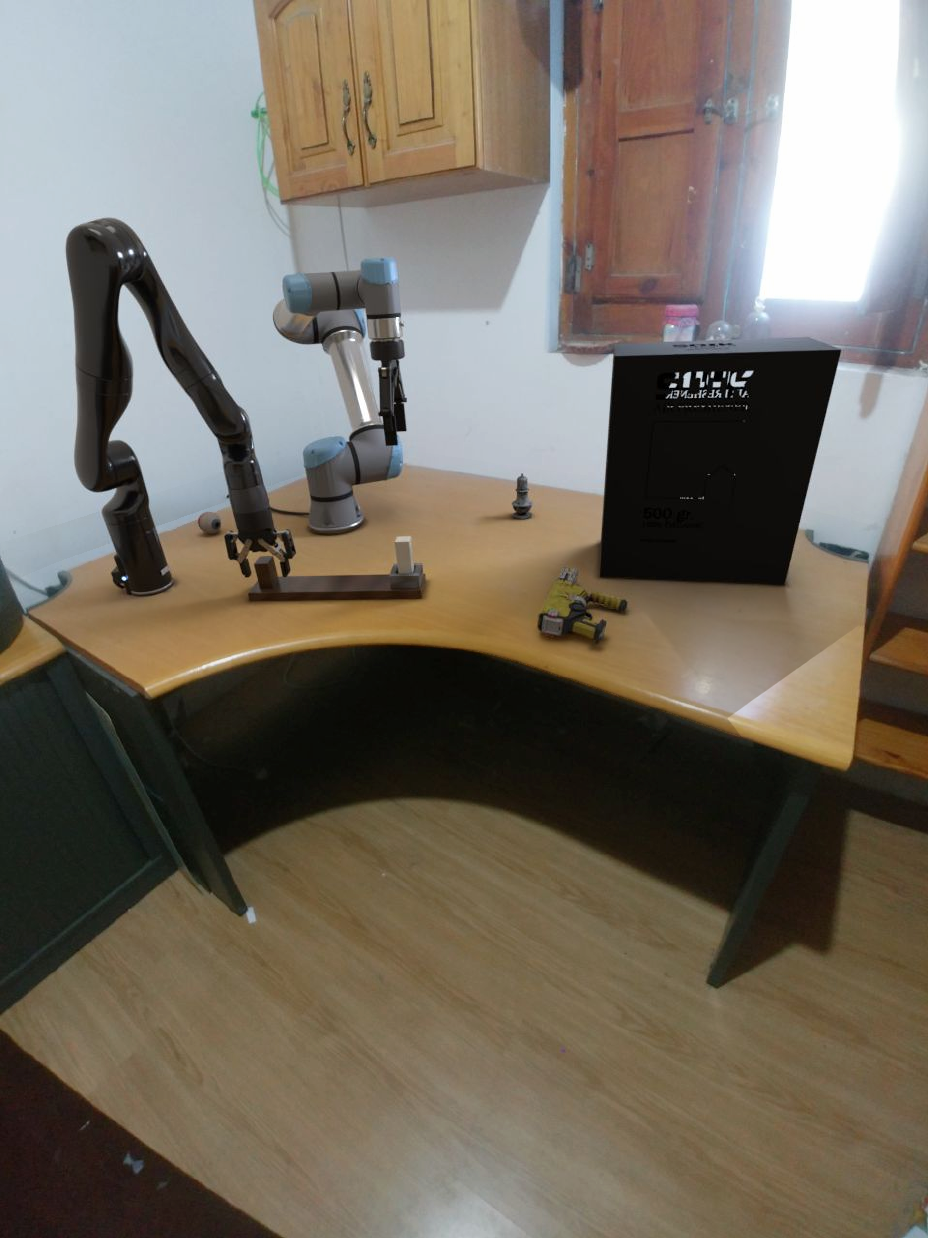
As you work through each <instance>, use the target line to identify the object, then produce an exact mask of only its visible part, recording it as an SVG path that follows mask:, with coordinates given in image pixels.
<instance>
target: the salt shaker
mask: <svg viewBox="0 0 928 1238" xmlns="http://www.w3.org/2000/svg"><path fill="white" fill-rule="evenodd" d="M529 490H530V489H529V488H528V477H527V476H525V475H524V472H521V474H520V476H518V477H517V478H516V488H515V492H516V498H515V500H514V501H511V505H512V509H513V510H514V513H512V517H513V518H515V519H518V520H519V519H521V520H523V519H529V518H532V516H533V514H532V513H531V512H530V511H531V509H532V506H533V504H534V502H533V501H532V500H530V499H529Z"/></svg>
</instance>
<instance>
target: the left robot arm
mask: <svg viewBox="0 0 928 1238" xmlns="http://www.w3.org/2000/svg"><path fill="white" fill-rule="evenodd" d="M65 259H66V267H67V274H68V275H67V276H68V280H69V287H70V293H71V300H72V301H71V302H72V309H73V310H72V311H73V327H74V328H73V330H74V331H73V332H74V346H75V348H74V349H75V350H74V351H75V352H74V355H75V356H74V362H75V363H74V368H75V384H76V429H75V430H76V431H75V438H74V449H73V462H74V464H73V465H74V469H75V473H76V476H77V478H78V480H79V482H80V483H81V485H82V486H83V487H84V489H86V490H88V491H90V492H92V493H99V494H100V493H104V492H109V491H112V490H115V492H114V493H113V496H112V497H111V498H110V500H109V501H108V502H107V503H106V504H104V505H103V507H102V508H101V515H102V518H103V521H104V523H105V524H104V525H105V526H106V528H107V532H108V535H109V537H110V540H111V542H112V545H113V548H114V550H115V554H114V555H113V559H114V562H115V565H116V566H115V567H114V568H113V569H112V570H111V572H110V575H111V577H112V582H113V584H114V585H115V586H116V587H117V588H119V589H121V590H124V589H125V591H126V594H127V595H132V596H136V597H145V596H152V595H157V594H159V593H163V592H165V591H167V590H168V589H170V588H171V587H172V586H173V585H174V583H175V581H174V578H173V576H172V573H171V566H170V564H169V563H168V561H167V558H166V554H165V552H164V549H163V546H162V542H161V539H160V536H159V533H158V530H157V526H156V524H155V522H154V518H153V515H152V512H151V509H150V497H149V492H148V489H147V486H146V483H145V478H144V475H143V470H142V468H141V464H140V461H139V458H138V456H137V455H136V452H135V450H134V449H133V448H132V447H131V446H130V444H129V443H127V442H126V441H124V440H122V439H112V440H110V439H111V434H112V433H113V431H114V429H115V427H116V426H117V424H118V422H119V421H120V420H121V418H122V416H123V415H124V413H125V411H126V410H127V408H128V406H129V404H130V402H131V399H132V397H133V392H134V391H133V390H134V361H133V356H132V353H131V351H130V348H129V346H128V344H127V342H126V340H125V337H124V336H123V333H122V331H121V327H120V323H119V312H120V311H119V309H120V295H121V290H122V287H123V286H124V287H125V288H126V290H128V292H129V293H130V294H131V295H132V296H133V297H134V299H135V300H136V303H137V304H138V306H139V307H140V309H141V310H142V312H143V314H144V316H145V318H146V321H147V322H148V325H149V328H150V331H151V333H152V337H153V340H154V342H155V343H154V344H155V345H156V349H157V351H158V354H159V355H160V358H161V360H162V362H163V364H164V365H165V367H166V368H167V370H168V371H169V373H170V374H171V376H172V377H173V378H174V379H175V381H176V382H177V384H178V385H179V386H180V388H181V389H182V390H183V391H184V393H185V394H186V395H187V397H188V398H189V399H190V401H191V402H192V403H193V404H194V406H195V409H197V411H198V413H199V415H200V416H201V418H202V419H203V421H204V423H205V424H206V425H207V428H208V429H209V430H210V432H211V433H212V434H213V436H214V437H215V438H216V441H217V443H218V448H219V451H220V454H221V458H222V459H221V460H222V469H223V474H224V478H225V482H226V486H227V492H228V494H229V498H228V499H229V504H230V506H231V512H232V515H233V519H234V523H235V527H236V530H237V532H234V531H233V530H232V529H231V530H228V531H227V532H226V533H225V534H224V535H223V538H224V543H225V547H226V553H227V558H228V560H230V561H235V562H238V565H239V569H240V572H241V574H242V576H244V578H245V579H246V578H247V579H248V578H250V577H251V576H252V569H251V565H250V560H249V558H248V556H249V553H250V552H252V553H259V552H260V553H267V552H269V553H270V554H271V556H273V557H276V558H277V559H278V560H279V567H280V572H281V575H282V576H283V577H287V576H289V574H290V573H291V570H292V569H291V565H290V560H292V559H293V558H294V557H295V555H297V550H296V546H295V542H294V539H293V535H292V532H291V530H290V529H288V528H286V529H284V530H280V531H277V530H276V528H275V523H274V518H273V513H272V510H271V509H270V507H271V505H270V498H269V495H268V492H267V489H266V486H265V484H264V478H263V475H262V474H263V473H262V470H261V466H260V463H259V460H258V457H257V453H256V449H255V444H254V443H255V442H254V437H253V431H252V427H251V425H252V424H251V420H250V417H249V414H248V413H247V411H246V409H244V408H243V407H242V406H241V405H239V404H238V403H237V402H236V401H235V399H234V398H233V396H232V395H231V393H229V391H228V390H227V388H226V387H225V385H224V382H223V379H222V377H221V376H220V374H219V372H218V371H217V370H216V368H215V367H214V365H213V364H212V362H211V361H210V359H209V358H208V356H207V355H206V353H205V351H203V349H202V348H201V346H200V345H199V343H198V342H197V340H196V339H195V337H194V335H193V334H192V332H191V331H190V330H189V328H188V326H187V324H186V323H185V321H184V319H183V318H182V317H183V316H181V314H180V312H179V310H178V308H177V307H176V305H175V303H174V301H173V299H172V297H171V295H170V293H169V291H168V289H167V287H166V285H165V284H164V281H163V280H162V278H161V276H160V274H159V271H158V270H157V268H156V266H155V264H154V262H153V260H152V257H151V256H150V254H149V252H148V249H146V247H145V245H144V243H143V242H142V240H141V238H140V237H139V235H138V234H137V233H136V231H134V229H133V228H132V227H131V226H130V225H129V224H128V223H126V222H124V221H123V220H121V219H119V218H116V217H108V216H107V217H106V216H105V217H101V218H97V219H94V220H90V221H86V222H83V223H80V224H78V225H75V226H74V227H73V228H72V229H71V230H70V231H69V232H68V234H67V236H66V240H65ZM277 539H279V540H280V542H282V543H283V546H282V544H280V543H279V542H278V540H277ZM237 541H240V542H241V544H242V545H243V547H242V548H241V551H240V552H239V550H238V545H237ZM283 547H284V548H283Z"/></svg>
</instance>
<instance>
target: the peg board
mask: <svg viewBox="0 0 928 1238" xmlns="http://www.w3.org/2000/svg"><path fill="white" fill-rule="evenodd" d="M253 566H254V570H255V575H256V578H257V581H256V582H254V585H253V586H252V587H251V588H250V590H249V591H248V592H247V595H248V599H249V602H274V601H275V602H276V601H279V602H280V601H328V600H329V601H331V600H333V601H334V600H336V601H337V600H381V599H382V600H386V599H388V600H391V599H393V600H394V599H397V600H399V599H422V598H423V594H424V591H425V587H426V582H427V576H426V573H424V566H423V562H414V573H407V574H398V565H397V562H396V563H393V564H392V567H391V569H390V571H389V574H388V573H386V574H341V575H339V574H338V575H337V574H336V575H334V574H333V575H331V574H330V575H288V576H287V577H283V576H279V575H278V570H277V566H276V562H275V556H274V555H260V556H259V557H258V558H257V560H256V561H254V563H253Z"/></svg>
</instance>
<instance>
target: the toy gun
mask: <svg viewBox="0 0 928 1238" xmlns="http://www.w3.org/2000/svg"><path fill="white" fill-rule="evenodd" d="M568 571H569V572H570V573H569V572H568ZM578 576H579V569H577V568H576V567H572V569H570V566H564V567H563V568H562V570H561V572H560V575H559V576H558V577H557V579H556V580H555V582H554V583H553V586H552V588H551V590H550V592H549V593H548V596H547V597H546V600H545V602H544V603H543V606H542V607H541V610H540V611H539V613H538V616H537V624H536V628H537V630H538V631H539V632H541V633H544V636H546V637H548V636H549V637H550V638H554V637H555V636H559V637H565V636H568V635H571V634H573V633H575V634H578V635H582V636H584V637H587V638H590V639H592V640H594V645H599V643H600V642H601V640H602V639H603V638H604V636H605V632H606V628H607V622H608V621H607V620H605V619H604V618H601V619H600V620H599V622H596V621H593V618H594V617H593V615H592V613H591V612H589V611H587V610H588V609H587V606H588V605H589V603H593V604H597V605H598V606H602V605H603V607H605V608H607V607H608V608H609V609H613V610H614V609H615V611H619V612H620V613H623V612H626V610H627V608H628V603H629V601H628V600H627V599H625V598H624V599H623V598H617V597H616V596H611V595H610V594H605V593H600V592H598V591H592V592H591V593H590V594H589V593H588V591H587V589H586V588H585V587H583V586H578V585H576V584H577V582H578Z"/></svg>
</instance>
